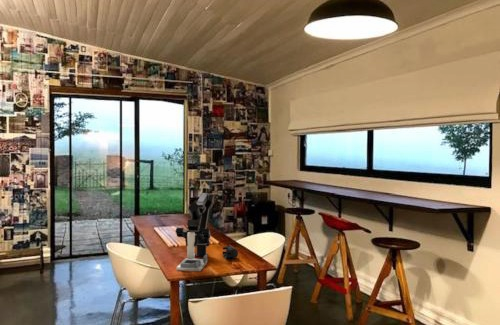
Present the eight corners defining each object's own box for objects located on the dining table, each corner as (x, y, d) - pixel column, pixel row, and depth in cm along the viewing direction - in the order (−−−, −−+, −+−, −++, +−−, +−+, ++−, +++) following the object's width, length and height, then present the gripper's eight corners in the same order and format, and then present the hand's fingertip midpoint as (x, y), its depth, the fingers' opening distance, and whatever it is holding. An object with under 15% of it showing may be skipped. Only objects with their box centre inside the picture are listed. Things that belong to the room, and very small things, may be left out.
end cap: (238, 259, 241) (238, 248, 241) (226, 260, 239) (226, 249, 239) (233, 255, 251) (233, 244, 251) (222, 256, 249) (222, 245, 248)
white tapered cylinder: (194, 257, 224) (194, 231, 224) (195, 259, 220) (195, 233, 220) (186, 257, 223) (187, 232, 222) (187, 259, 219) (188, 233, 219)
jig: (185, 260, 236) (185, 253, 236) (207, 261, 235) (207, 254, 235) (176, 270, 217) (176, 261, 217) (200, 271, 216) (200, 262, 216)
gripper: (176, 213, 226) (170, 237, 215) (209, 214, 224) (205, 238, 213) (180, 224, 234) (174, 248, 223) (212, 225, 232) (208, 249, 221)
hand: (190, 246), depth 220 cm, fingers closed on white tapered cylinder, 4 cm apart
